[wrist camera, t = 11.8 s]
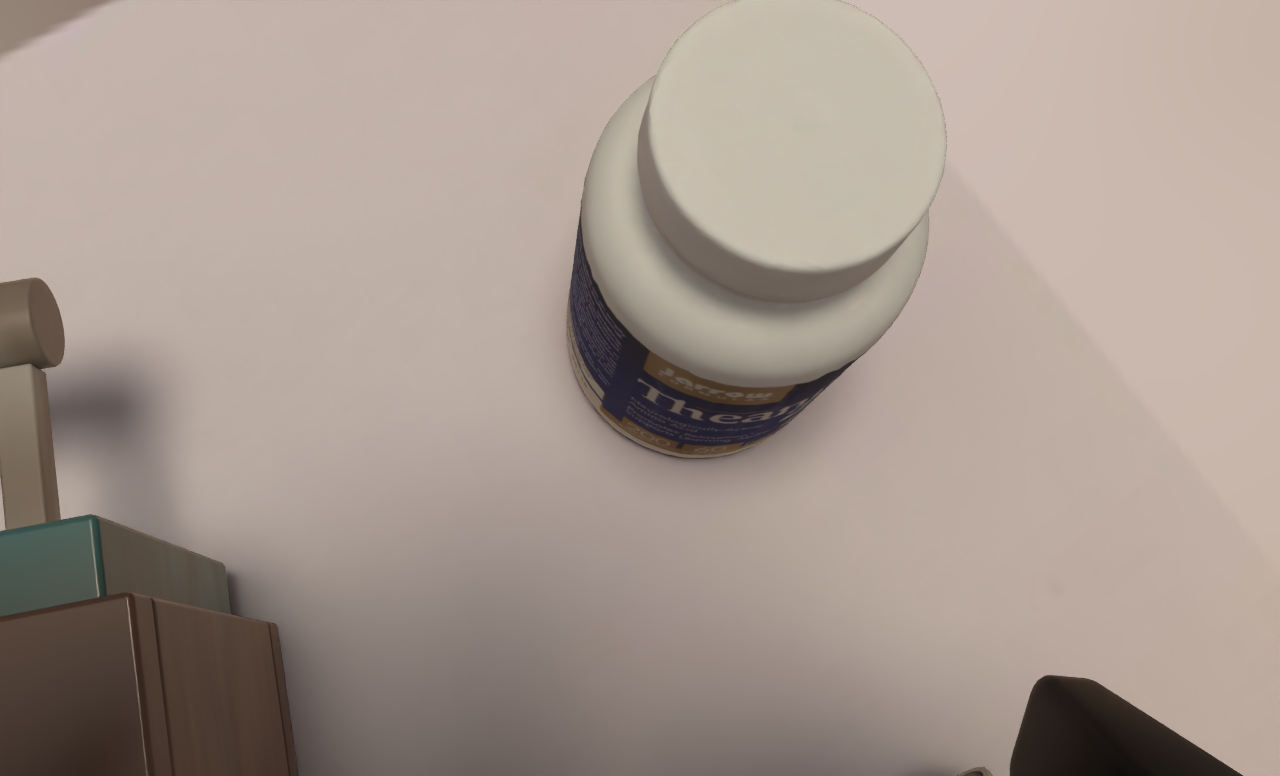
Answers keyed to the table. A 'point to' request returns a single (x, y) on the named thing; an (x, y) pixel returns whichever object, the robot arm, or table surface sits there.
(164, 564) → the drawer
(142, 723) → the cabinet
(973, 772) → the toy car
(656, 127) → the pill bottle
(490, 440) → the table surface
